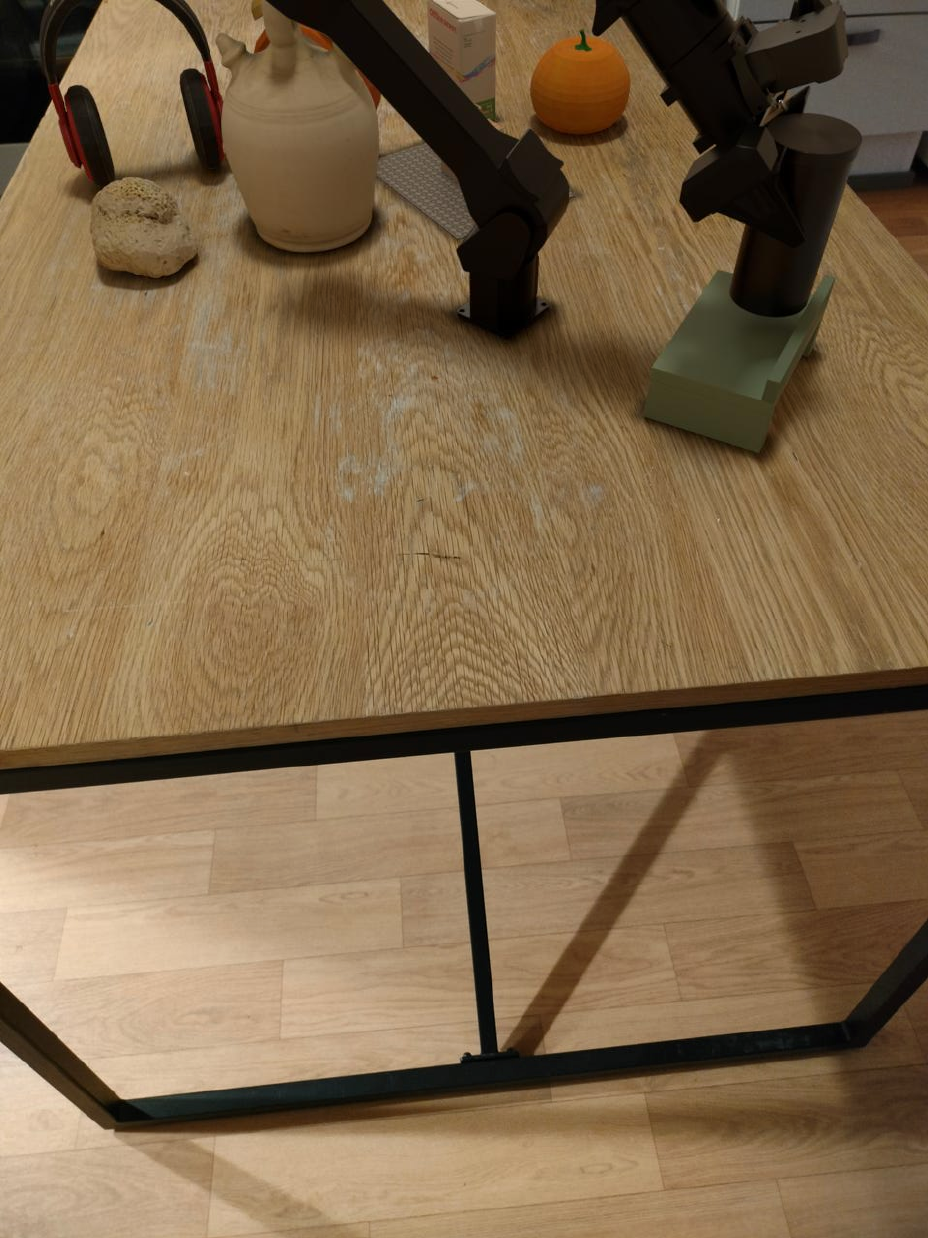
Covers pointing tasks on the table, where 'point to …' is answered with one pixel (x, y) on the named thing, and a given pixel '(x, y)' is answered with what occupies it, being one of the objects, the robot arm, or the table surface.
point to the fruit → (580, 85)
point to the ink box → (465, 47)
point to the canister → (815, 185)
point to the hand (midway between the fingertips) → (807, 222)
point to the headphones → (82, 114)
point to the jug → (299, 138)
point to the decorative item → (140, 229)
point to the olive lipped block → (731, 365)
